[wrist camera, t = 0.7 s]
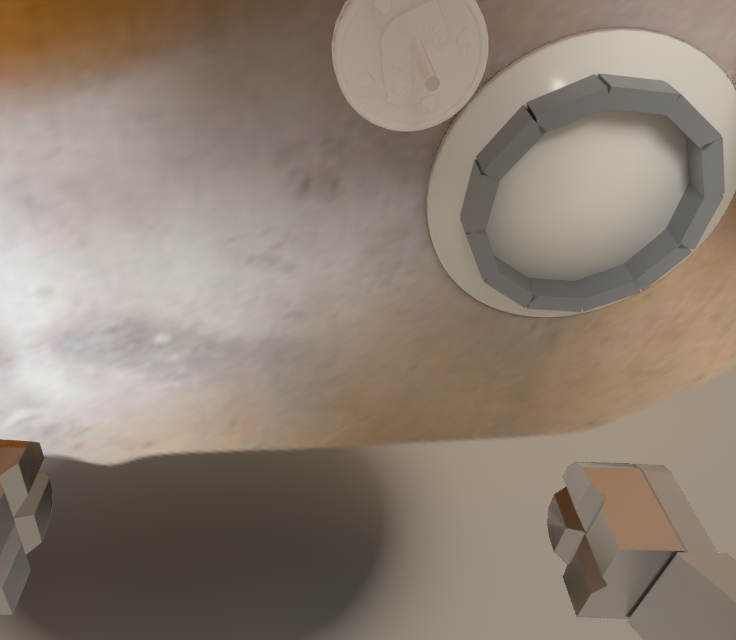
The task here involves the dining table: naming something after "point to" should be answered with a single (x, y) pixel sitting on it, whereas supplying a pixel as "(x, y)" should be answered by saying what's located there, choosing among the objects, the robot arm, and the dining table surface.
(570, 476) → the robot arm
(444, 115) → the smoothie
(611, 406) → the dining table surface
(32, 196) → the dining table surface
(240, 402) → the dining table surface
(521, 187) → the ring plate
